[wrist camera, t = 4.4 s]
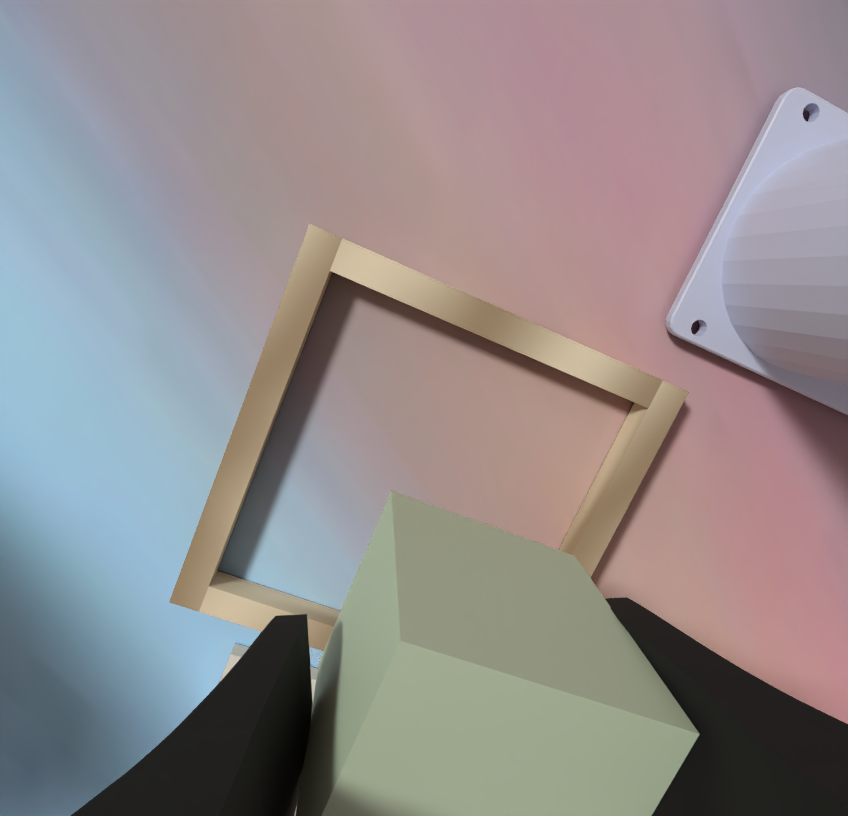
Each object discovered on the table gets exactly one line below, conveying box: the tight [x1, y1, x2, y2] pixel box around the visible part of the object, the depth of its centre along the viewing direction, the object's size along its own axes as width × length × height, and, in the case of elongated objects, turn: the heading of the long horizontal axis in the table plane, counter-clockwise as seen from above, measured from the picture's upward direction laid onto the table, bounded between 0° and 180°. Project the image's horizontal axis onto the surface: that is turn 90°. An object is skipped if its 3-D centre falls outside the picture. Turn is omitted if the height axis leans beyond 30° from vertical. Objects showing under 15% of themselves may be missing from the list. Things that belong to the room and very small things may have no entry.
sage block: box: [295, 490, 699, 816], centre depth 10 cm, size 4×4×5 cm
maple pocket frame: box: [170, 224, 689, 651], centre depth 19 cm, size 13×13×1 cm
